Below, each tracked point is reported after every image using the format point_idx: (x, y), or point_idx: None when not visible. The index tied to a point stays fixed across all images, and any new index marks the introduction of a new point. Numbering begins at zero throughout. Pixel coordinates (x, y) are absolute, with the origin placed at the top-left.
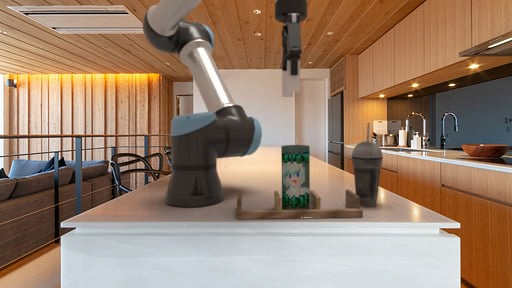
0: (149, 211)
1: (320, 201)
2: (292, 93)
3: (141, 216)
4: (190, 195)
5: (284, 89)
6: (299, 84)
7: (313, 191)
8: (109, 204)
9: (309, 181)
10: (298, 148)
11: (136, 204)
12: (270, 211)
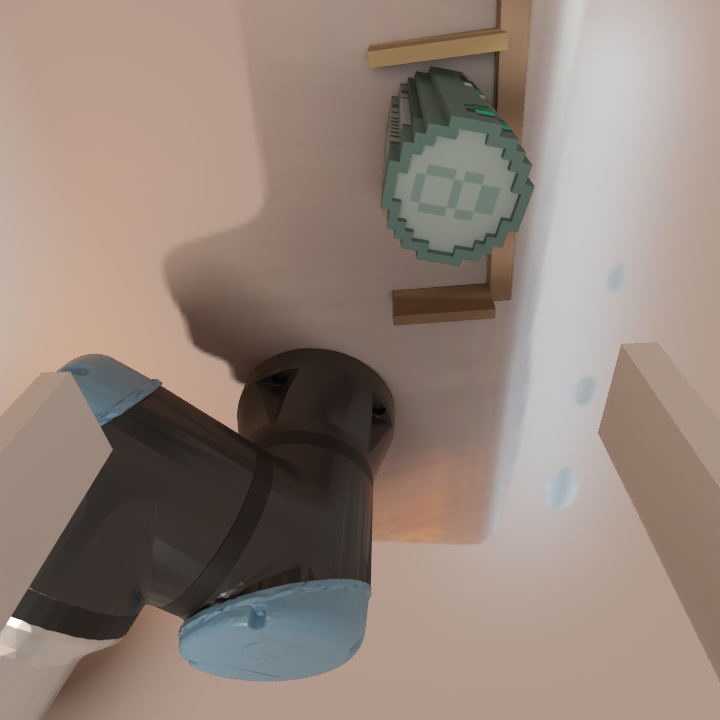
0: (425, 465)
1: (504, 31)
2: (54, 395)
3: (461, 467)
4: (389, 425)
5: (68, 489)
6: (689, 388)
7: (392, 53)
8: (372, 535)
9: (447, 85)
10: (528, 182)
11: None
12: None
